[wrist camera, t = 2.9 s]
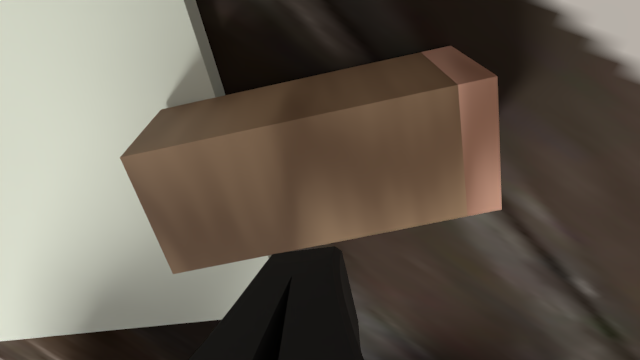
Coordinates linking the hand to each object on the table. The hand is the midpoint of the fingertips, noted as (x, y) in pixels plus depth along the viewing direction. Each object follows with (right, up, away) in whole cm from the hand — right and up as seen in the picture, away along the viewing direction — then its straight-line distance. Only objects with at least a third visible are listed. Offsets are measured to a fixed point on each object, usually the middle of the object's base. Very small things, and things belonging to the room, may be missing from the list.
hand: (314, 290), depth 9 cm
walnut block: (-5, +2, +6) cm, 8 cm away
